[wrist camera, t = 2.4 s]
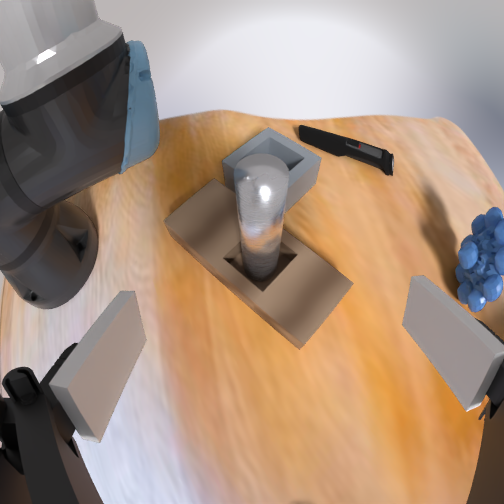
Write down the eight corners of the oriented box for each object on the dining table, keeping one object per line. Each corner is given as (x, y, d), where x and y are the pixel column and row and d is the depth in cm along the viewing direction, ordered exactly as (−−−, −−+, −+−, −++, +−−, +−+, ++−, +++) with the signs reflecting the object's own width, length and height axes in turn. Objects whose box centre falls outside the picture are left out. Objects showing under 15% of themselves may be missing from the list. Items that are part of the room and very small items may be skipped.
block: (225, 186, 38) (221, 160, 34) (267, 153, 41) (268, 127, 37) (275, 222, 36) (277, 198, 31) (315, 183, 38) (321, 157, 34)
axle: (236, 267, 32) (222, 174, 19) (259, 245, 33) (259, 146, 20) (261, 288, 31) (264, 204, 18) (283, 264, 32) (300, 171, 19)
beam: (171, 235, 35) (163, 220, 32) (217, 195, 38) (214, 178, 35) (299, 349, 29) (304, 344, 26) (344, 294, 31) (353, 283, 28)
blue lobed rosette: (432, 233, 35) (476, 179, 24) (467, 244, 34) (515, 197, 23) (433, 315, 30) (495, 278, 19) (472, 322, 29) (534, 289, 18)
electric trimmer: (301, 132, 44) (302, 117, 41) (393, 163, 41) (399, 149, 38) (294, 147, 42) (295, 131, 40) (391, 179, 39) (398, 165, 36)
